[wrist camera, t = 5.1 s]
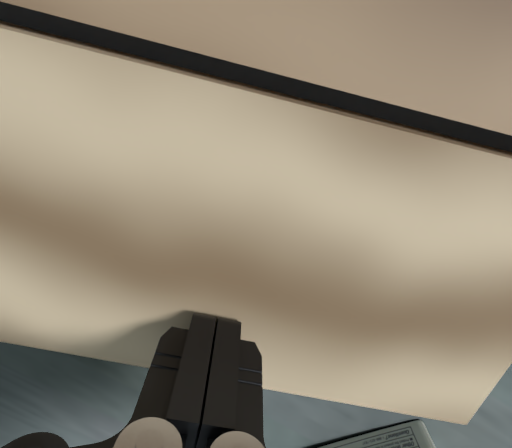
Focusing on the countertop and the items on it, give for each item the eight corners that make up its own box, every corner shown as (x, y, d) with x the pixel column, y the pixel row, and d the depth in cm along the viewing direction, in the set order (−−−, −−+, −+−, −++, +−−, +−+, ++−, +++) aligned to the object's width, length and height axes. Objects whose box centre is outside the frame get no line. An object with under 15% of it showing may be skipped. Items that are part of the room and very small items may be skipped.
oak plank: (-98, -5, 9) (-188, -21, 7) (574, 168, 11) (637, 191, 9) (-55, 284, 13) (-107, 322, 11) (440, 379, 15) (466, 425, 13)
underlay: (-225, -790, 6) (-320, -955, 5) (881, -311, 8) (966, -362, 7) (-59, 285, 14) (-81, 301, 13) (441, 380, 16) (452, 399, 15)
